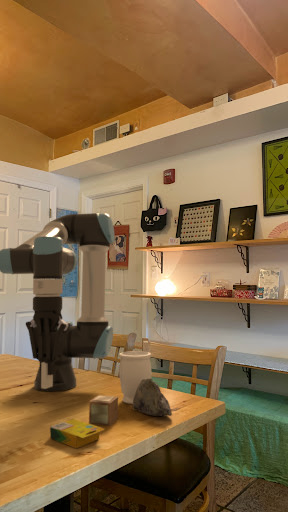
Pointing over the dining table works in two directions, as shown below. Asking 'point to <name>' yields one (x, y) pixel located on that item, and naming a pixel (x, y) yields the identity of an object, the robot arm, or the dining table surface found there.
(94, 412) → the brown cube
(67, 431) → the crayon box
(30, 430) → the dining table surface
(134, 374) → the jar
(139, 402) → the mineral rock
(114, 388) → the dining table surface
